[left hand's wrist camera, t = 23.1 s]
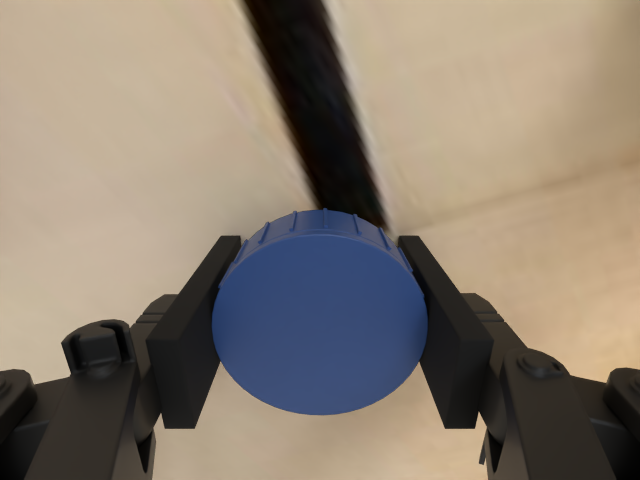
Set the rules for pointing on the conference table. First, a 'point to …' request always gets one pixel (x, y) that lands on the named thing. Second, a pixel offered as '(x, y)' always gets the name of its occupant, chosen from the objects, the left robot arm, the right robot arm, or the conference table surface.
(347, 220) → the lid
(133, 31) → the conference table surface
